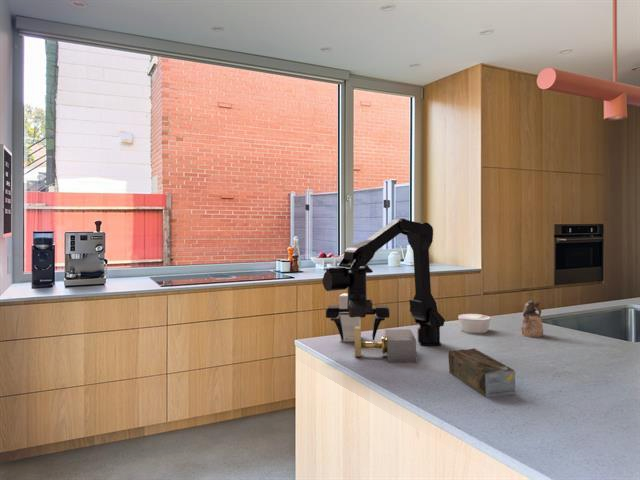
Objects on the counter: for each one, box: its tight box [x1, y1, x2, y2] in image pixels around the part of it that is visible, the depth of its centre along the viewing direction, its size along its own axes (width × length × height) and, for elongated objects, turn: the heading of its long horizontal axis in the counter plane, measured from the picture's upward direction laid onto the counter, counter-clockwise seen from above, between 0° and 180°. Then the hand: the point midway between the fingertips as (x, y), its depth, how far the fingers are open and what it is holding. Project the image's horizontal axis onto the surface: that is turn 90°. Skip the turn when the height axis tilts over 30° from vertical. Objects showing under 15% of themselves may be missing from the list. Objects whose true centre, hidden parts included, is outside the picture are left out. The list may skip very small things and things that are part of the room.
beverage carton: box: [448, 348, 516, 398], centre depth 118 cm, size 8×19×7 cm, turn 10°
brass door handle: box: [354, 327, 387, 358], centre depth 143 cm, size 14×5×8 cm, turn 86°
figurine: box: [520, 300, 544, 338], centre depth 166 cm, size 7×7×12 cm
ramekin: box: [457, 313, 492, 334], centre depth 175 cm, size 11×11×5 cm
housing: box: [384, 328, 417, 364], centre depth 143 cm, size 8×14×6 cm, turn 176°
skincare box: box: [338, 292, 362, 343], centre depth 165 cm, size 8×7×16 cm
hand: (357, 340), depth 144 cm, fingers open, 9 cm apart
